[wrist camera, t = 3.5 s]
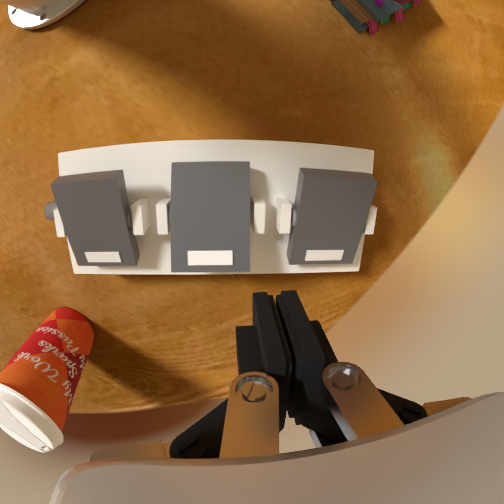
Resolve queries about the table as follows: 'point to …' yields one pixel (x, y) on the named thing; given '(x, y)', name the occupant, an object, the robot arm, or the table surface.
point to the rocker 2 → (329, 215)
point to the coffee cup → (45, 379)
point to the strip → (256, 151)
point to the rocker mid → (210, 216)
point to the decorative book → (371, 12)
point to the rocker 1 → (97, 218)
